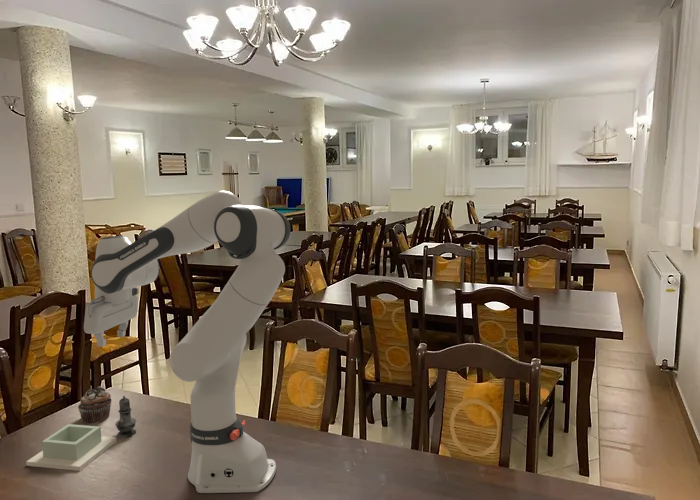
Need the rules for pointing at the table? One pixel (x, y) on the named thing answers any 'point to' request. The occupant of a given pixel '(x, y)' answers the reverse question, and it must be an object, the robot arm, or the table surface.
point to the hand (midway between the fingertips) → (111, 340)
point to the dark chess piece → (125, 419)
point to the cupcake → (95, 405)
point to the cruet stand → (71, 448)
